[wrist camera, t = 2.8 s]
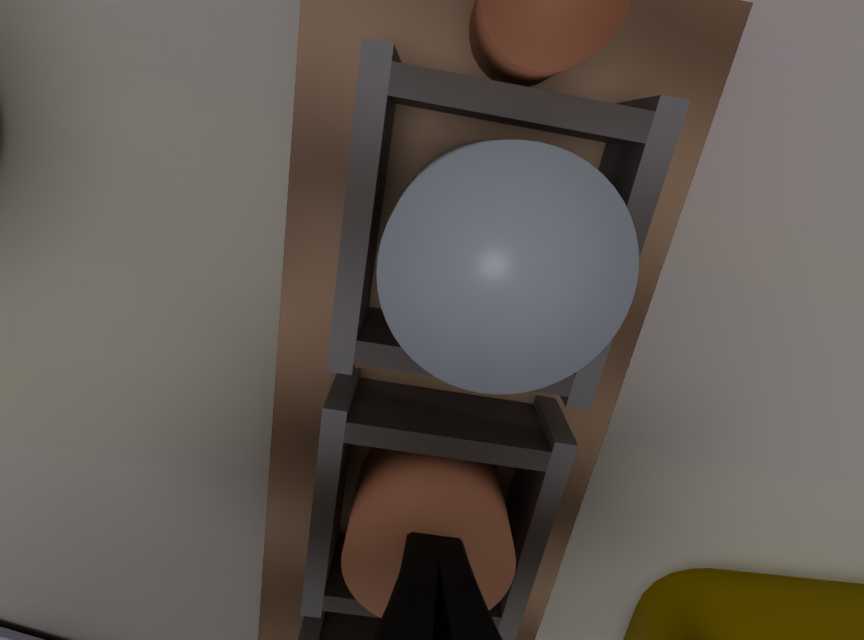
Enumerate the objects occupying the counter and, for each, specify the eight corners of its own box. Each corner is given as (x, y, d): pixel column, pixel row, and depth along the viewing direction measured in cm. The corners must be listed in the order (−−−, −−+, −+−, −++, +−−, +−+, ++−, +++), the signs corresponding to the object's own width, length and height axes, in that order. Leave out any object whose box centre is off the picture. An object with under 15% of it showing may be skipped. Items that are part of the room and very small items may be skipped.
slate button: (557, 346, 12) (596, 410, 9) (378, 317, 12) (361, 375, 9) (610, 159, 10) (676, 166, 8) (406, 121, 10) (396, 115, 7)
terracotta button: (484, 550, 16) (495, 638, 13) (350, 532, 16) (332, 618, 13) (514, 436, 15) (534, 509, 12) (367, 415, 14) (351, 483, 11)
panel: (487, 733, 22) (502, 890, 17) (260, 709, 21) (214, 863, 17) (723, 15, 12) (896, -58, 8) (319, -67, 12) (246, -200, 7)
